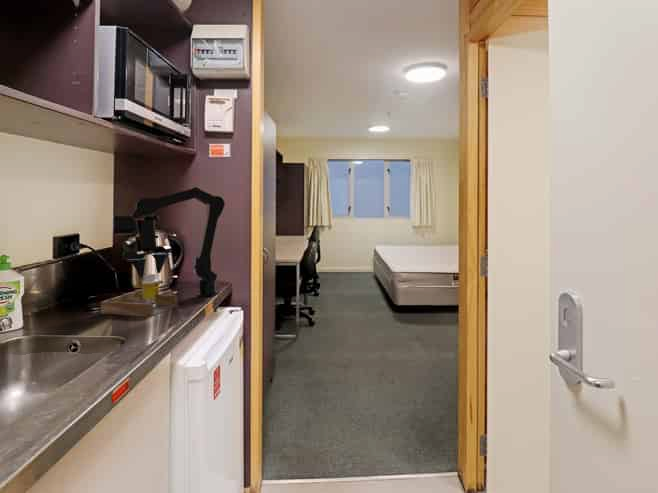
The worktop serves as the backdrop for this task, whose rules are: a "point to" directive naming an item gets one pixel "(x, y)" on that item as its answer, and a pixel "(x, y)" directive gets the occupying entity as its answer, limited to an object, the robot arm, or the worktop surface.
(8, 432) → the worktop surface
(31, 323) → the worktop surface
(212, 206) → the robot arm
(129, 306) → the channel
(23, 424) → the worktop surface
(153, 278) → the supplement bottle
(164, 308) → the end tile
